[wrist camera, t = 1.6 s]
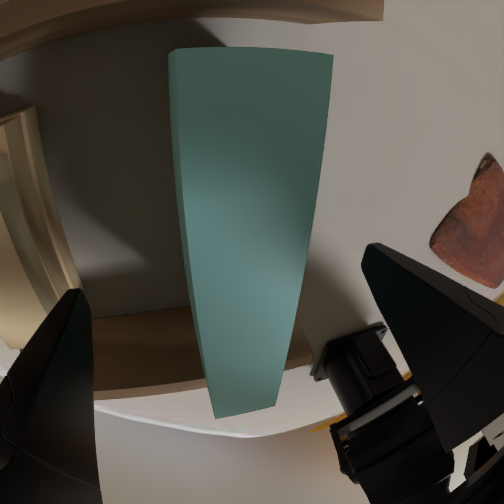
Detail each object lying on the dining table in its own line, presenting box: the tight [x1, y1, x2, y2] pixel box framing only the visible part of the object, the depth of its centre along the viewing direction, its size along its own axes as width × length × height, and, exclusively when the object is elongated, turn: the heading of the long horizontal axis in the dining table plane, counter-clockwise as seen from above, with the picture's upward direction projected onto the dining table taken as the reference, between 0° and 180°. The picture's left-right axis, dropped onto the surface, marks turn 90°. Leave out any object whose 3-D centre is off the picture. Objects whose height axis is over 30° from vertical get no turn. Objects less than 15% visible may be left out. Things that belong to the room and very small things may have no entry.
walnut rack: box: [0, 0, 384, 400], centre depth 11 cm, size 17×17×5 cm
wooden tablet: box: [430, 157, 504, 289], centre depth 25 cm, size 27×10×2 cm, turn 59°
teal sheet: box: [168, 47, 334, 419], centre depth 10 cm, size 12×2×8 cm, turn 178°
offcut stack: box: [0, 106, 84, 349], centre depth 10 cm, size 10×4×4 cm, turn 177°
